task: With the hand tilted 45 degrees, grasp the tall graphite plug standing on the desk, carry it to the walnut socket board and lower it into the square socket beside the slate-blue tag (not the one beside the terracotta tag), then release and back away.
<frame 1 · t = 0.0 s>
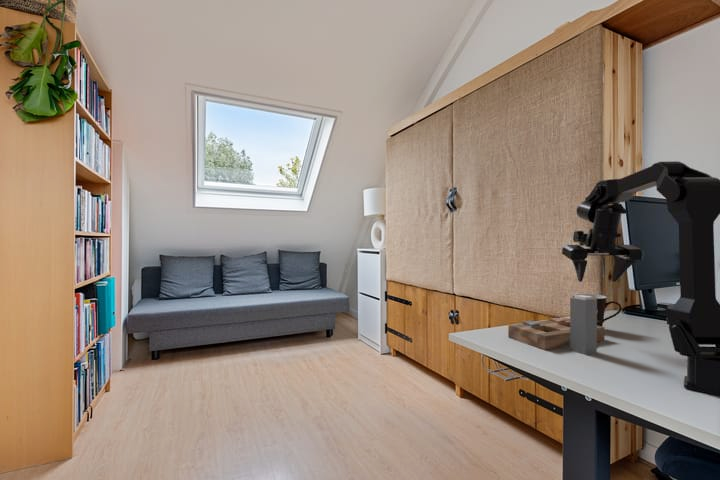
hand: (596, 281, 102), 15 cm above the table, tool pointing down, fingers open, 9 cm apart
plug: (583, 351, 89), on the table
socket board: (555, 338, 100), on the table
coffee mug: (594, 330, 109), on the table
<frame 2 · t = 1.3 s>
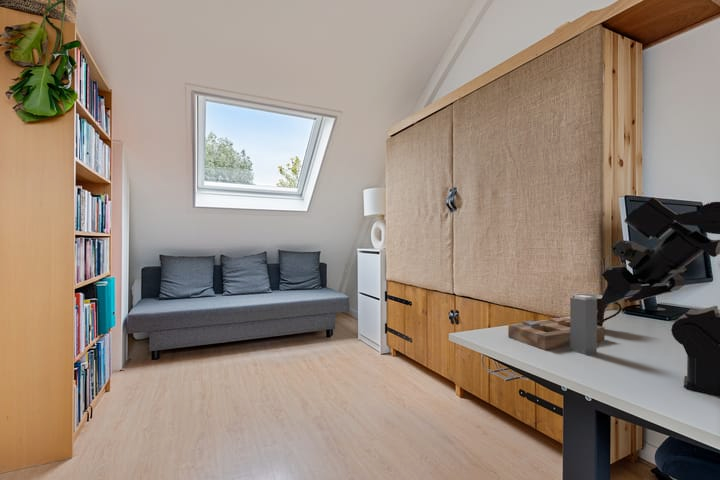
hand: (615, 302, 82), 13 cm above the table, tool tilted 45°, fingers open, 9 cm apart
nothing on the table moved.
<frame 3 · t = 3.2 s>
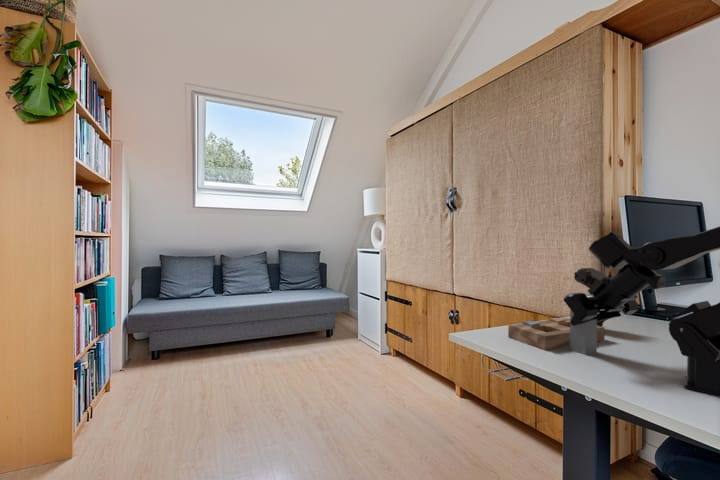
hand: (578, 323, 91), 7 cm above the table, tool tilted 45°, fingers closed on plug, 4 cm apart
plug: (583, 351, 89), on the table, touching gripper
everything else where it was.
when the fingers open (8 cm above the table, at t = 5.7 s): plug drops 2 cm, resting on socket board.
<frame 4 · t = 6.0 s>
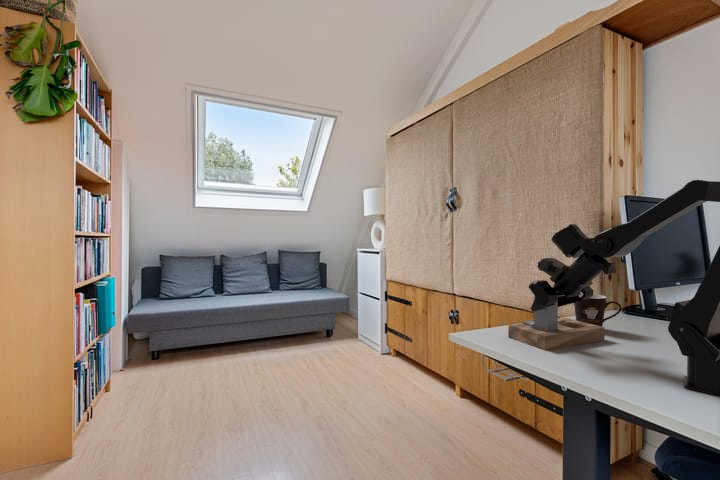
hand: (540, 308, 98), 9 cm above the table, tool tilted 45°, fingers open, 7 cm apart
plug: (545, 340, 97), resting on socket board
everything else where it was.
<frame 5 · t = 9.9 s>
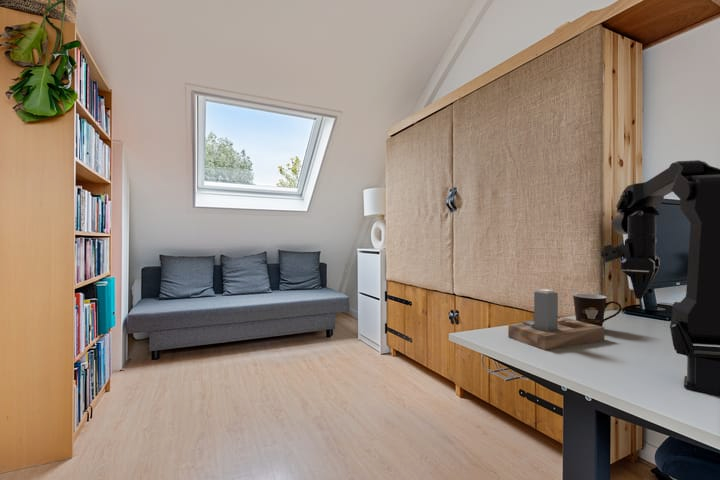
hand: (640, 296, 92), 13 cm above the table, tool pointing down, fingers open, 9 cm apart
nothing on the table moved.
at the end: plug 0.1 cm from the target spot, resting on socket board; plug tilted 0°; the gripper is holding nothing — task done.
